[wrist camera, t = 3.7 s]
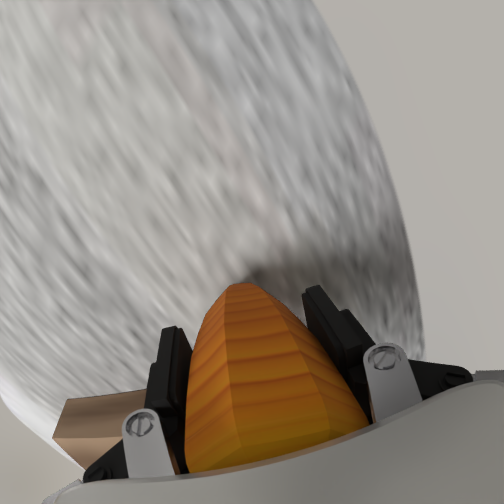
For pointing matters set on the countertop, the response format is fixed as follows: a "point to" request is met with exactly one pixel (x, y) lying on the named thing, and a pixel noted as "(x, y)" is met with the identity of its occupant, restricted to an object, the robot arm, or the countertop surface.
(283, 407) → the carrot
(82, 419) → the socket block
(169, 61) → the countertop surface
